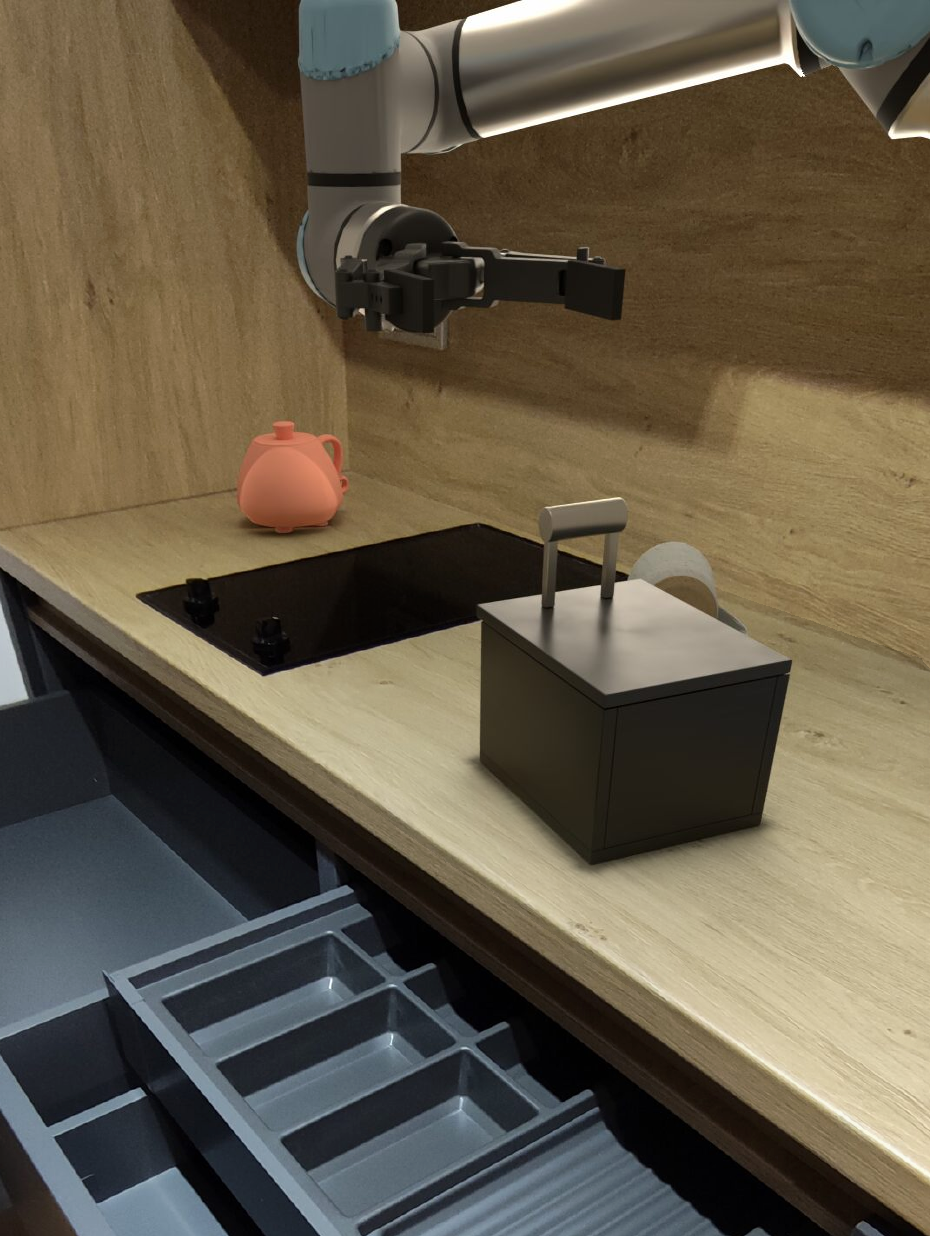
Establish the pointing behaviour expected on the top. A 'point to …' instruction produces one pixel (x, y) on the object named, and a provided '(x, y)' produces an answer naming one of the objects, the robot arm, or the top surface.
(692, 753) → the bin
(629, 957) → the top surface
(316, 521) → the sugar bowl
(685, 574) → the ceramic mug
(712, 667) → the bin lid
